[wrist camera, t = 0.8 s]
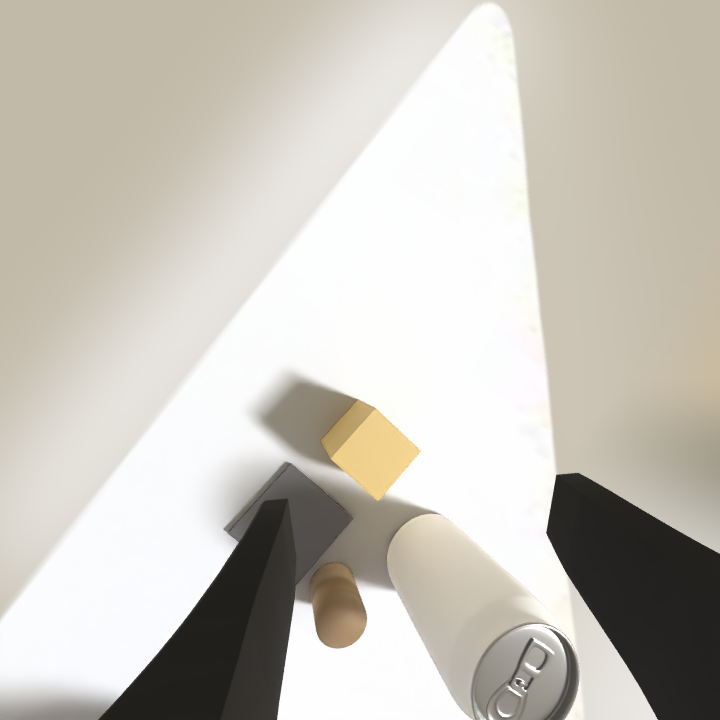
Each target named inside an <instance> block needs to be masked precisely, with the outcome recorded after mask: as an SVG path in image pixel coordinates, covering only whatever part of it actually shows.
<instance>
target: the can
mask: <svg viewBox="0 0 720 720" xmlns="http://www.w3.org/2000/svg"><path fill="white" fill-rule="evenodd" d="M387 568H388V573H389V576H390V579H391V581H392V583H393V585H394V587H395V589H396V591H397V593H398V595H399V597H400V599H401V601H402V603H403V605H404V607H405V608H406V610H407V612H408V614H409V616H410V618H411V620H412V622H413V624H414V626H415V628H416V630H417V631H418V633H419V635H420V637H421V639H422V641H423V643H424V645H425V647H426V649H427V650H428V652H429V654H430V656H431V658H432V660H433V662H434V664H435V666H436V667H437V669H438V671H439V673H440V675H441V677H442V679H443V681H444V682H445V684H446V686H447V688H448V690H449V691H450V693H451V695H452V697H453V698H454V700H455V701H456V703H457V704H458V706H459V707H460V708H461V710H462V711H463V712H464V713H465V714H466V715H468V716H469V717H470V718H471V719H473V720H564V719H565V718H566V716H567V715H568V713H569V711H570V710H571V708H572V705H573V703H574V701H575V698H576V694H577V691H578V685H579V663H578V658H577V655H576V652H575V649H574V647H573V645H572V644H571V642H570V641H569V639H568V638H567V637H566V636H565V635H564V634H563V633H562V632H561V629H560V627H559V625H558V623H557V621H556V619H555V617H554V616H553V614H552V613H551V611H550V610H549V609H548V608H547V607H546V606H545V605H544V604H543V603H542V602H541V601H540V600H539V599H538V598H537V597H536V596H535V595H534V594H533V593H532V592H531V591H530V590H529V589H528V588H526V587H525V586H524V585H523V584H522V583H521V582H520V581H519V580H518V579H517V578H516V577H515V576H513V575H512V574H511V573H510V572H509V571H508V570H507V569H506V568H505V567H504V566H502V565H501V564H500V563H499V562H498V561H497V560H496V559H495V558H494V557H493V556H492V555H490V554H489V553H488V552H487V551H486V550H485V549H484V548H483V547H482V546H481V545H479V544H478V543H477V542H476V541H475V540H474V539H473V538H472V537H471V536H469V535H468V534H467V533H466V532H465V531H464V530H463V529H462V528H460V527H459V526H458V525H457V524H456V523H455V522H453V521H452V520H451V519H449V518H447V517H445V516H442V515H438V514H424V515H420V516H417V517H415V518H413V519H411V520H409V521H408V522H407V523H405V524H404V525H403V526H402V527H401V528H400V529H399V530H398V531H397V533H396V534H395V536H394V537H393V539H392V541H391V543H390V546H389V550H388V554H387Z"/></svg>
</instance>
